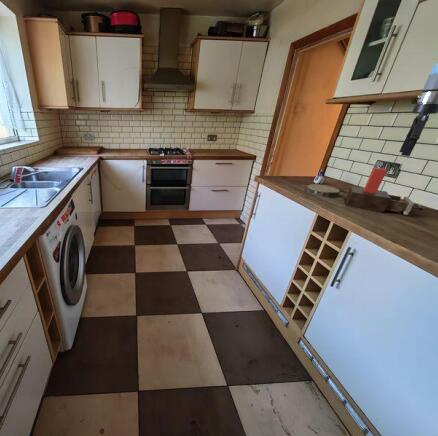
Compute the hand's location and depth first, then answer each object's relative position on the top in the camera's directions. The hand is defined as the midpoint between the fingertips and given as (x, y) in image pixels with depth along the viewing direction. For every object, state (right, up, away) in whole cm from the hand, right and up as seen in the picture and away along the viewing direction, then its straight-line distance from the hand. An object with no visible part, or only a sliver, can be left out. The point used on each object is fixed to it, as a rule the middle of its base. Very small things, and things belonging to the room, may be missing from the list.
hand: (404, 154), depth 107 cm
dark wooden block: (-5, -23, +15) cm, 28 cm away
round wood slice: (-14, -15, +32) cm, 38 cm away
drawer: (+4, -26, +9) cm, 27 cm away
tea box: (-5, -16, +12) cm, 21 cm away
